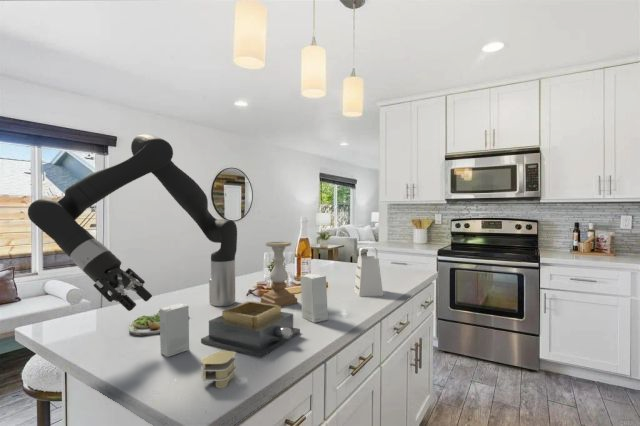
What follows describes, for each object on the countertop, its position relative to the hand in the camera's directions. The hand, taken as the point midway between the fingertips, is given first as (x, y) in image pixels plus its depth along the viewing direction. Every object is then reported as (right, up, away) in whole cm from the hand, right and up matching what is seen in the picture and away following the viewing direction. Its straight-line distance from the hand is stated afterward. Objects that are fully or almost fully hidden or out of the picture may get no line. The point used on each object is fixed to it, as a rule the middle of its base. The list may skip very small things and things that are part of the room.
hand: (141, 303), depth 88 cm
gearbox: (+28, -13, +9) cm, 32 cm away
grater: (+68, -12, +61) cm, 92 cm away
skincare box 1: (+8, -13, +1) cm, 16 cm away
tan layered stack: (+25, -14, -14) cm, 32 cm away
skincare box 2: (+45, -13, +27) cm, 54 cm away
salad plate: (-5, -13, +21) cm, 26 cm away
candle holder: (+30, -12, +47) cm, 57 cm away
